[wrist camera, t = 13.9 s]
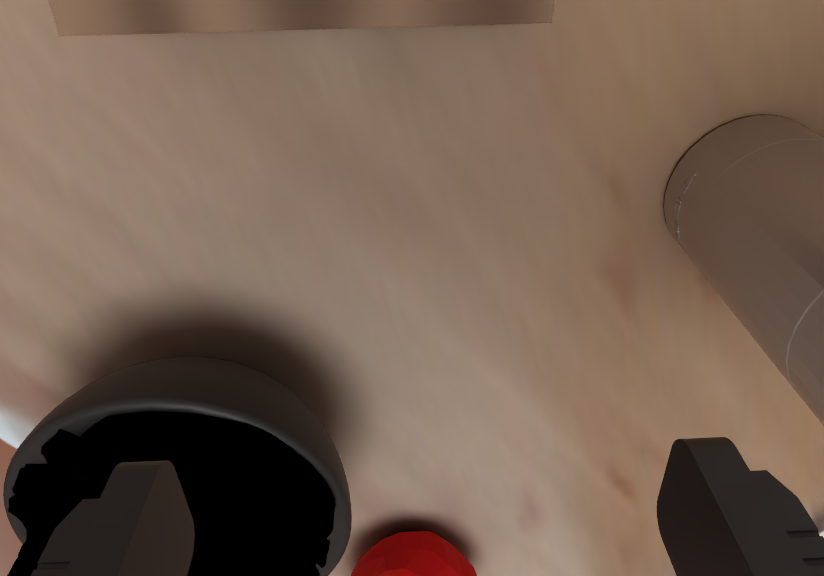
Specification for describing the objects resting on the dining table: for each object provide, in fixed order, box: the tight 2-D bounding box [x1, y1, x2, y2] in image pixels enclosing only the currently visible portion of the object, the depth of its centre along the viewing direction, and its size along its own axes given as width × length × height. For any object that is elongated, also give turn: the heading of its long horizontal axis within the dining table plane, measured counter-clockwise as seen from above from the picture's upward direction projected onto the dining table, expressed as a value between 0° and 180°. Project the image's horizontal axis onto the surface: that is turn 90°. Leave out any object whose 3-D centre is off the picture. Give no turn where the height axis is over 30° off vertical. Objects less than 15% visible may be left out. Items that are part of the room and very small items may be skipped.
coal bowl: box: [3, 357, 352, 576], centre depth 38 cm, size 20×20×19 cm
